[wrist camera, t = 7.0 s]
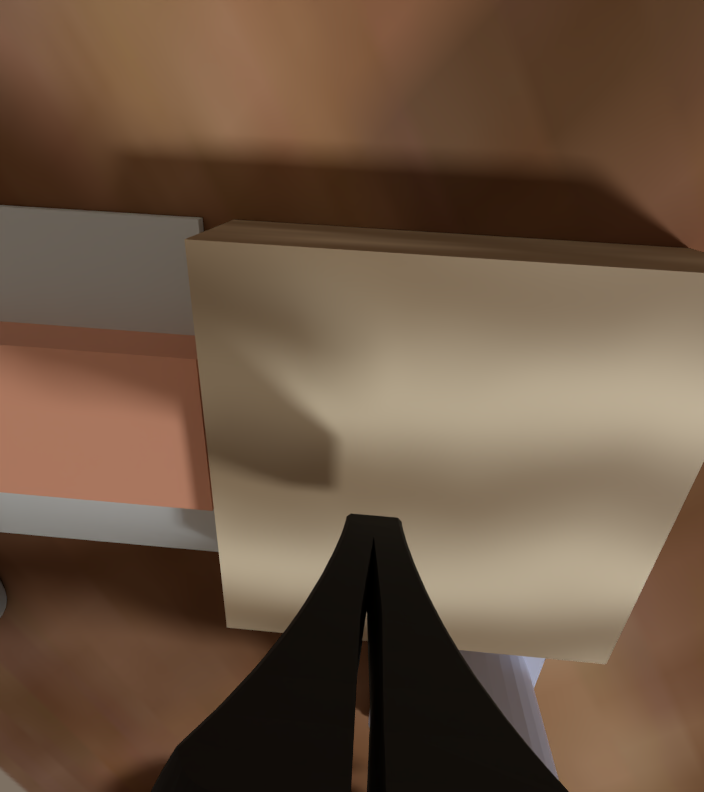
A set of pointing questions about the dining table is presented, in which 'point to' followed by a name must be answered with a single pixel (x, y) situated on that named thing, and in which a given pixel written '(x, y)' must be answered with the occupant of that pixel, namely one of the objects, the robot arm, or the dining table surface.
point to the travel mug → (2, 599)
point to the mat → (105, 309)
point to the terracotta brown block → (102, 416)
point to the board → (450, 419)
